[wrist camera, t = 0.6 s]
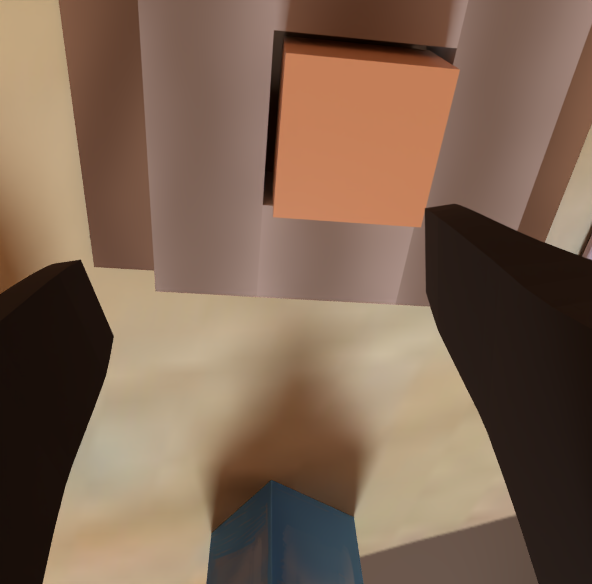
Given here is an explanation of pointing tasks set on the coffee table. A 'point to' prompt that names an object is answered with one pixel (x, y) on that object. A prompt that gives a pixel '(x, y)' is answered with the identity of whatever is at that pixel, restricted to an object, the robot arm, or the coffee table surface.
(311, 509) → the perfume bottle
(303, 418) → the coffee table surface
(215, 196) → the button board
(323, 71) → the button
